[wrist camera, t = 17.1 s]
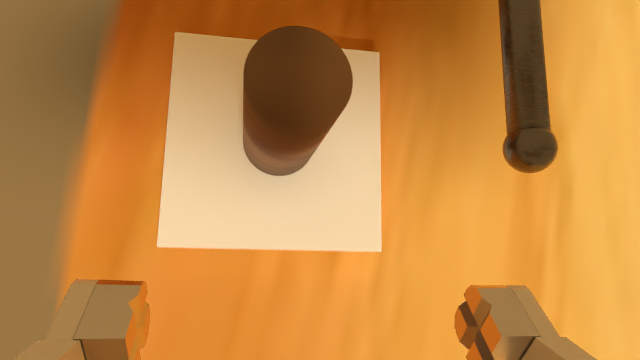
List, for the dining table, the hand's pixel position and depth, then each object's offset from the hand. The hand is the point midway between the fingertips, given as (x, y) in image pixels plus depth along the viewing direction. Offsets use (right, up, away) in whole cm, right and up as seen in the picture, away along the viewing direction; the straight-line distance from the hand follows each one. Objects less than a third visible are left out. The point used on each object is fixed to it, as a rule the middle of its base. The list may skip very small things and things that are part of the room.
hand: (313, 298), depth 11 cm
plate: (-2, +5, +14) cm, 15 cm away
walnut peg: (-2, +5, +14) cm, 15 cm away
